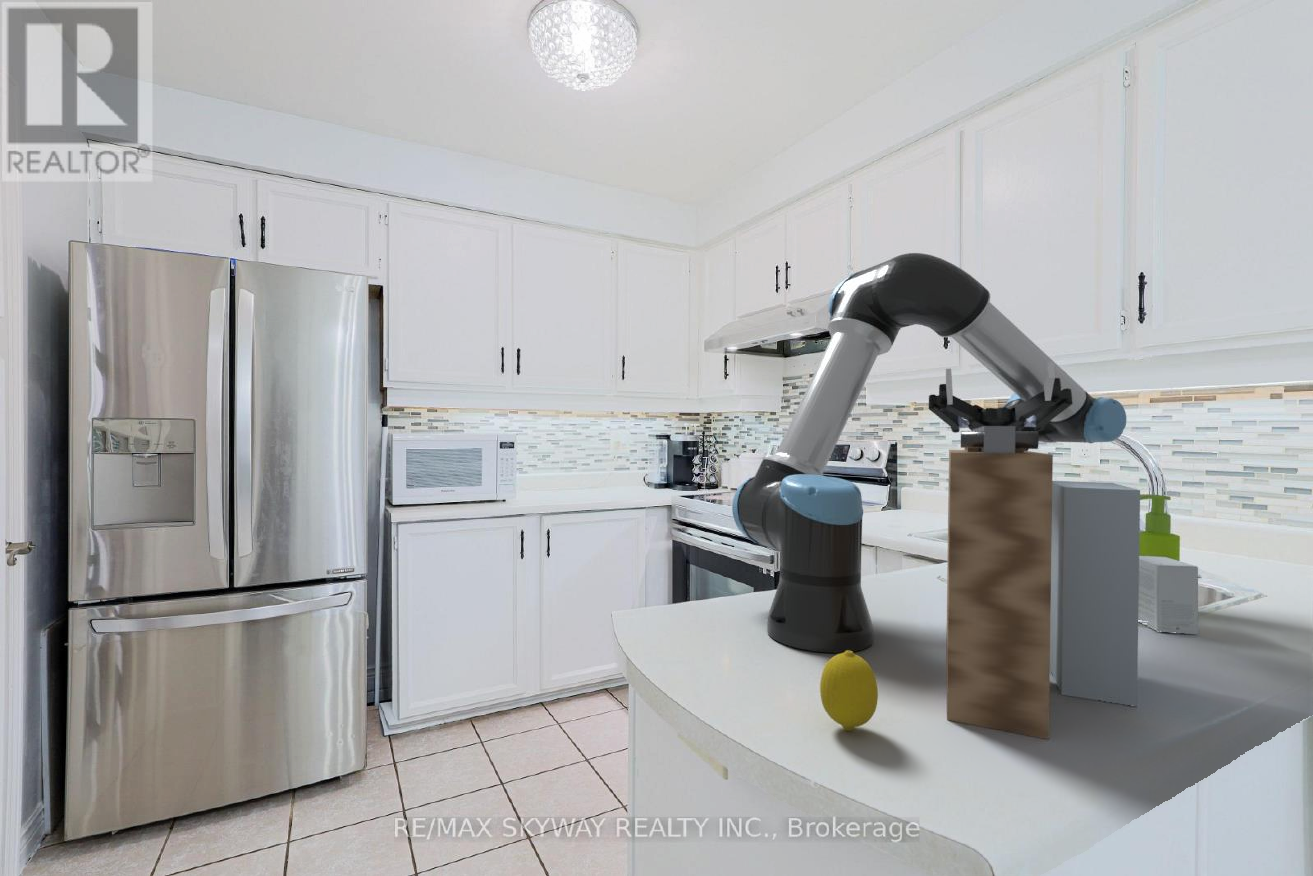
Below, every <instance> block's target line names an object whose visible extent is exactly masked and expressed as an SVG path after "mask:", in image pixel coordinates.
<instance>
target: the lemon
mask: <svg viewBox="0 0 1313 876" xmlns="http://www.w3.org/2000/svg"><path fill="white" fill-rule="evenodd" d="M819 684H820V685H819V689H820V690H819V692H820V698H821V703H822V706H823V709H824V711H825V712H826V714H827V715H828V717H830V719H832V720H833V721H834V722H835V723H836V724H839V725H841V727H843V729H844V730H846V731H849V732H850V731H852V730H853V729H855V728H857V727H862V726H863V725H865V724H867V723H868V722H869V721H870V720H871V719H872V717H873V716H874V714H875V712H876V709H877V706H878V700H879V699H878V697H879V693H878V691H879V690H878V682H877V679H876V675H875V672H874V670H873V669H872V667H871V665H870V664H869V663H868V662H867V661H866V660H865V659H864V658H862V657H861V656H860V655H857V654H855V653H854V651H849V650H847V651H845V652H840V653H837V654H836V655H834V656H832V657H831V658H830V659H829V660H828V661H827V662H826V664H825V665H824V667H823V669H822V673H821V677H820V683H819Z"/></svg>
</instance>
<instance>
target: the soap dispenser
mask: <svg viewBox="0 0 1313 876" xmlns="http://www.w3.org/2000/svg"><path fill="white" fill-rule="evenodd" d="M1171 498H1172V497H1171V496H1167V495H1159V494H1147V493H1145V494H1144V493H1143V494H1140V501H1141V500H1150V499H1151V511H1149V512H1146V513H1145V526H1144V527H1145V528H1144V529H1145V531H1144V530H1143V531H1141V530H1140V538H1139V556H1153V557H1167V558H1170V559H1174V560H1177V561H1180V562H1181V560H1180V557H1181V555H1180V550H1181V548H1180V547H1181V546H1180V545H1181V536H1180V535H1178V534H1174V533H1171V526H1172V525H1171V519H1172V518H1171V517H1172V516H1171V515H1170V514H1168V513H1167V512H1165V501H1171Z"/></svg>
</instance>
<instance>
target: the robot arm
mask: <svg viewBox="0 0 1313 876" xmlns="http://www.w3.org/2000/svg"><path fill="white" fill-rule="evenodd" d="M827 311H828V313H829V322H828V325H827V330H828V332H829V335H830V337H831V338H830V340H829V342H828V344H827V347H826V348H825V349H824V350H825V351H824V352H823V355H822V357H821V358H820V361H819V363H818V365H817V366H816V369H815V371H814V373H813V376H812V377H811V379H810V380H809V384H808V386H807V388H806V390H805V392H804V394H803V397H802V398H801V400H800V402H799V405H798V406H797V408H796V410H795V413H794V415H793V417H792V419H791V421H790V423H789V425H788V428H787V430H786V432H785V434H784V436H783V438H782V440H781V442H780V444H779V446H778V448H777V450H776V452H775V453H774V454H772V455H768V456H766V457H764V458H763V459H762V461H761V463H760V465H759V467H758V469H757V471H756V473H755V476H752V477H749V478H747V479H746V480H745V481H743V482H742V483H741V484H740V485H739V487H738V488H737V489H736V490H735V492H734V495H733V499H732V504H731V505H732V508H731V510H732V511H731V513H732V515H733V516H732V518H733V520H734V523H735V525H736V527H737V529H738V530H739V531H740V532H741V534H743V536H744V537H746V538H747V539H749V540H751V541H752V542H753V543H755V544H757V545H759V546H760V547H764V548H769V549H772V550H774V551H777V552H779V582H778V585H777V587H776V591H775V593H774V597H773V599H772V602H771V605H770V607H769V611H768V614H767V621H766V622H767V626H766V627H767V630H766V631H767V634H768V635H769V636H770V637H771V638H772V639H773V640H775V641H776V642H778V643H781V644H783V645H785V646H786V645H787V646H789V647H792V648H795V649H800V650H805V651H810V652H816V653H817V652H818V653H819V652H820V653H835V654H840V653H844V652H845V651H847V650H849V651H852V652H857V651H861V650H864V649H866V648H869V647H870V646H871V645H872V644H873V643H874V625H873V622H872V618H871V614H870V612H869V609H868V606H867V602H866V599H865V595H864V592H863V589H862V550H863V549H862V547H863V546H862V545H863V542H862V541H863V517H864V516H863V515H864V509H863V508H864V507H863V500H862V498H863V497H862V491H861V490H860V488H859V487H858V486H857V485H856V484H855V483H853V482H852V481H850V480H846V479H843V478H840V477H833V476H825V475H823V474H824V472H825V468H826V467H827V465H828V463H829V461H830V459H831V456H832V454H833V452H834V450H835V447H836V446H837V443H838V441H839V439H840V436H841V435H842V432H843V431H844V428H845V426H846V424H847V421H848V420H849V417H850V415H851V413H852V411H853V409H854V407H855V405H856V402H857V401H858V399H859V397H860V394H861V392H862V390H863V388H864V385H865V383H866V382H867V379H868V377H869V375H870V372H871V370H872V368H873V366H874V364H875V362H876V360H877V357H878V356H880V355H885V354H887V353H889V351H891V349H892V347H893V344H894V343H895V341H896V339H897V336H898V334H899V332H900V330H901V329H902V328H906V327H909V326H915V325H919V326H924V327H927V328H929V329H931V330H932V331H933V332H935V333H936V334H937V335H938V336H940V337H941V338H952V339H953V340H954V341H956V343H958V345H960V346H961V347H962V348H963V349H964V350H966V352H968V353H969V354H970V355H971V356H972V357H973V358H974V359H976V360H977V361H978V362H979V363H981V364H982V366H983V367H984V368H986V369H987V370H988V371H990V372H991V373H992V374H993V375H994V376H995V377H996V378H998V379H999V380H1000V381H1001V382H1002V383H1003V384H1004V385H1005V386H1006V387H1007V388H1009V389H1010V391H1012V392H1013V394H1012V395H1011V396H1010V397H1009V398H1008V401H1007V402H1006V403H1005V404H1004V405H1003V406H1002V407H996V408H995V407H985V408H984V407H982V406H980V405H977V404H973V405H972V404H971V403H969V402H967V401H965V400H963V399H961V398H958V397H956V396H955V395H953V392H954V391H953V379H952V378H953V377H952V368H945V383H940V384H939V385H938V395H937V394H929V395H928V409H929V411H930V412H931V413H933V414H934V415H935V416H937V417H938V418H939V419H941V420H942V421H943V422H944V423H945V424H946V425H948V426H949V427H950V429H951V432H952V433H960V432H961V430H960V429H969V431H972V430H973V429H976V428H979V427H983V426H1015V431H1038V435H1039V442H1041V443H1042V442H1047V443H1048V442H1050V443H1088V444H1094V443H1109V442H1113V441H1116V440H1117V439H1119V438H1120V437H1121V436H1122V435H1123V433H1124V430H1125V428H1126V426H1127V413H1126V410H1125V408H1124V406H1123V404H1122V403H1121V402H1120V401H1118V400H1117V399H1114V398H1111V397H1110V398H1107V397H1105V398H1104V396H1103V397H1101V396H1099V397H1097V398H1094V397H1093V396H1091V394H1090V393H1089V392H1087V391H1086V390H1085V389H1084V388H1083V387H1082V386H1081V385H1080V384H1078V382H1077V381H1076V380H1075V379H1073V378H1072V377H1071V376H1070V375H1069V374H1068V373H1067V372H1066V371H1065V370H1064V369H1062V367H1060V366H1059V365H1058V364H1057V363H1056V362H1055V360H1053V359H1052V358H1051V357H1049V355H1047V354H1046V353H1045V352H1044V350H1042V349H1041V348H1040V347H1039V346H1038V345H1037V344H1036V343H1034V342H1033V341H1032V339H1030V337H1028V336H1027V335H1026V334H1025V333H1024V332H1023V331H1022V330H1020V329H1019V327H1017V326H1016V325H1015V324H1014V323H1013V322H1012V321H1011V320H1010V319H1009V318H1007V317H1006V315H1004V314H1003V313H1002V312H1001V311H1000V310H999V309H998V308H997V307H995V305H993V303H991V292H990V291H989V290H988V289H987V288H986V287H985V286H984V285H983V284H981V283H980V282H979V281H978V280H977V279H976V278H974V277H973V276H972V275H971V274H970V273H968V272H967V271H965V270H964V269H962V268H961V267H959V266H957V265H956V264H953V263H951V262H950V261H947V260H945V259H943V258H940V257H937V256H935V255H932V254H927V253H921V252H909V253H903V254H900V255H897V256H895V257H893V258H891V259H889V260H886V261H883V262H880V263H878V264H875V265H873V266H871V267H870V266H869V267H867V268H866V269H861V270H859V271H856V272H854V273H853V274H850V275H849V277H847V278H845V279H843V280H842V281H841V282H840V283H839V284H838V285H837V286H836V287H835V288H834V290H833V292H832V294H831V296H830V298H829V302H828V310H827ZM1024 451H1029V449H1024Z"/></svg>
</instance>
